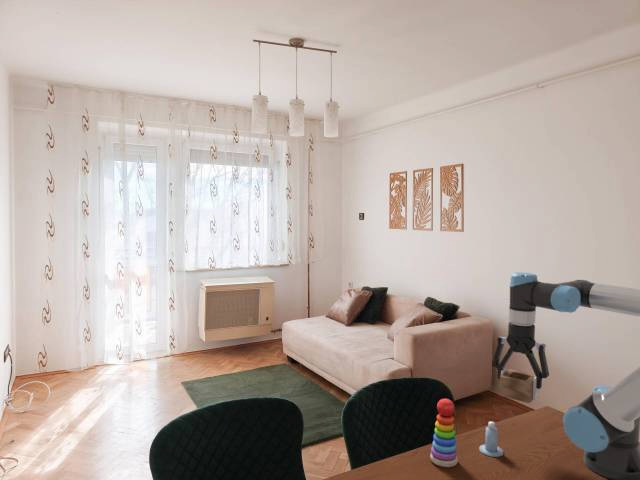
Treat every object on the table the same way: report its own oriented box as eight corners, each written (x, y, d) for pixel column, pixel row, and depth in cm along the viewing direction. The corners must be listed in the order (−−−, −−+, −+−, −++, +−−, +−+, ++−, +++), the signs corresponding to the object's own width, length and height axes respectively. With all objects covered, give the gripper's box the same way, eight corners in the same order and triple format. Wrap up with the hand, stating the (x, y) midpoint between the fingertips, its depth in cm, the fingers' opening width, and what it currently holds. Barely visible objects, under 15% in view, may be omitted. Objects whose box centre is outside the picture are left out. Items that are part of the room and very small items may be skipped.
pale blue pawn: (506, 450, 144) (507, 422, 144) (499, 459, 139) (499, 430, 138) (483, 443, 149) (484, 415, 148) (475, 451, 143) (476, 423, 143)
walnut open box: (538, 394, 145) (538, 375, 144) (529, 403, 138) (530, 383, 137) (508, 386, 151) (509, 368, 150) (499, 395, 144) (499, 376, 143)
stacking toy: (459, 470, 133) (460, 406, 132) (430, 466, 135) (431, 404, 134) (456, 456, 141) (457, 395, 140) (429, 453, 142) (430, 393, 141)
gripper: (563, 326, 139) (559, 399, 140) (490, 315, 153) (488, 381, 154) (557, 331, 133) (553, 407, 134) (482, 319, 147) (479, 388, 148)
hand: (518, 393), depth 144 cm, fingers closed on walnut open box, 9 cm apart
